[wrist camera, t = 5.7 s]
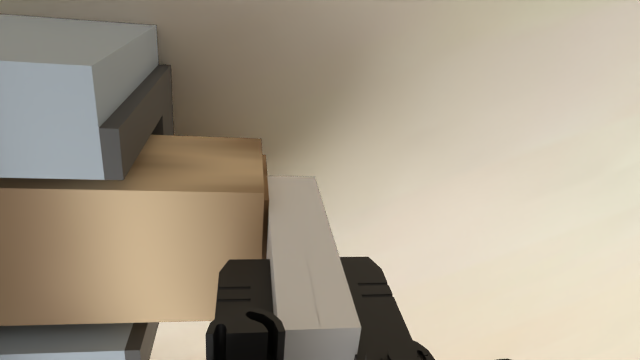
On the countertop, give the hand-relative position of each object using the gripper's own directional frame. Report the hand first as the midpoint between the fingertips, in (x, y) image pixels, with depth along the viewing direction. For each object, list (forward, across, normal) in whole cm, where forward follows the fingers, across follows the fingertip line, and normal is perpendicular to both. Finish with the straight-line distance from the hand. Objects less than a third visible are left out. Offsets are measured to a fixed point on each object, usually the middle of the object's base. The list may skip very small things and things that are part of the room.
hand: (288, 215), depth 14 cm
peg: (+2, -7, 0) cm, 7 cm away
